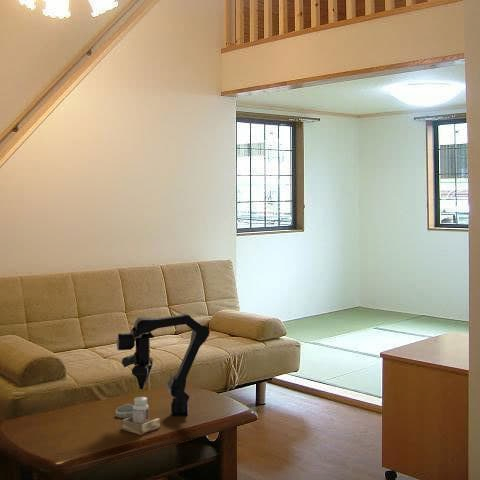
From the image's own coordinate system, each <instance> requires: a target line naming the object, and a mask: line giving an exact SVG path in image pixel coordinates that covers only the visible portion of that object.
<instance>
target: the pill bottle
mask: <svg viewBox="0 0 480 480" xmlns="http://www.w3.org/2000/svg"><path fill="white" fill-rule="evenodd" d="M133 404H134V405H133V423H136V424H140V425H141V424H144V423H146V422H149V421H150V414H149V413H150V412H149V411H150V410H149V409H150V407H149V404H148V397H145V396H136V397H134V398H133Z"/></svg>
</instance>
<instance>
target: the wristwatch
mask: <svg viewBox="0 0 480 480" xmlns="http://www.w3.org/2000/svg"><path fill="white" fill-rule="evenodd" d="M133 406H134V405H133V404H131V403H124V404H123V405H121V406H119V407H117V408H116V409H115V414H116V417H117V418H120V419H126V418H129V417H132V416H133Z"/></svg>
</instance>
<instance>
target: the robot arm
mask: <svg viewBox="0 0 480 480" xmlns="http://www.w3.org/2000/svg"><path fill="white" fill-rule="evenodd" d="M183 325H186V326H187V327H189V328H190V329H191V330H192V331H191V334H190V343H189V345H188V347H187V349H186V352H185V354H184V356H183V358H182V361H181V363H180V365H179V368H178V370H177V373H175V375H170V377H169V380H168V382H167V383H166V384H167V390H168V391H167V392H168V393H169V394H170V395H171V396H172V397H173V398H172V401H171V404H170V405H171V406H170V410H171V411H170V413H171V415H172V416H188V415H189V411H190V409H189V400H190V395H189V394H188V393H187V392H186V391H185V389H186V385H187V378H188V375H189V374H190V373H189V372H190V371H191V368H192V366H193V365H194V361H195V360H196V357H197V356H198V352H199V349H200V348H201V347H202V345H203V344H205V342H206V341H207V339H208V337H210V328H209V327H208V326H206V325H204V324H203V323H202V322H198V321H197V320H195V319H194V318H192V316H190V315H189V314H187V313H183V314H177V315H172V316H165V317H158V318H157V317H156V318H155V317H138V318H137V319H136V320H135V321H134V326H133V327H132V328H131V330H130V331H129V333H127V332H126V333H121V332H120V333H117V338H116V349H117V351H129V350H133V349H134V347H135V351H134V352H133V354H130V355H126V356H125V357H122V358H121V365H122V366H123V368H127V367H128V366H131V365H133V367H132V369H131V374H132V376H134V377H135V378H136V380H137V384H138V387H139V390H143V389H144V386H145V384H147V381H148V378H149V376H150V372H151V370H152V368H153V365H154V359H153V358H152V357H150V354H151V349H150V346H151V345H150V344H151V343H150V342H151V341H150V339H153V338H155V335H153V334H152V332H153V331H155V330H158V329H163V328H170V327H175V326H176V327H177V326H183Z"/></svg>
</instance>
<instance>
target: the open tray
mask: <svg viewBox="0 0 480 480" xmlns="http://www.w3.org/2000/svg"><path fill="white" fill-rule="evenodd" d="M160 419H161V418H160V417H159V418H154V419H152V420H149V422H146V423H144V424H141V425H140V424H136V423H133V416H132V417H129V418H123V419H121V421H120V430H122V431H126V432H129V433H133V434H136V435H141V436H142V435H144V434H147V433H149V432H152V431H154V430H157V429H159V428H161V427H160V426H161V424H160V423H161V420H160Z"/></svg>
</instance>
